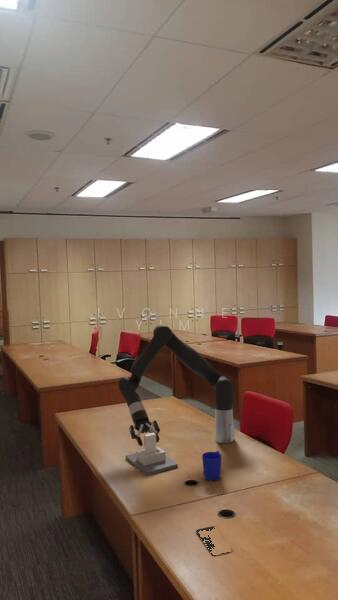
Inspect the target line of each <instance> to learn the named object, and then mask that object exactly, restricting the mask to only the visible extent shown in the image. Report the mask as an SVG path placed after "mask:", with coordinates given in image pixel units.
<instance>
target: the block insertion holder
mask: <svg viewBox="0 0 338 600" xmlns="http://www.w3.org/2000/svg"><path fill="white" fill-rule="evenodd" d="M156 452H157V453H153V454H149V455H145V452H144V448H143V449H140V450H139V449H138V450H136V451H135V453H131V454H126V455H125V460H126V461H128V462H129V463H130V464H132V465H133V466H134V467H135V468H136V469H137V470H139V471H140V472H141V473H142V474H144V475H145V476H151V475H154V474H157V473H161V472H165V471H170V470H173V469H176V468H178V467H179V466H178V465H179V464H178V463H177V462H175V461H174V460H172V459H171V458H170V457H168V456H167V455H166V451H165V450H163V449H162V448H160V447H159V446H157V445H156Z"/></svg>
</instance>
